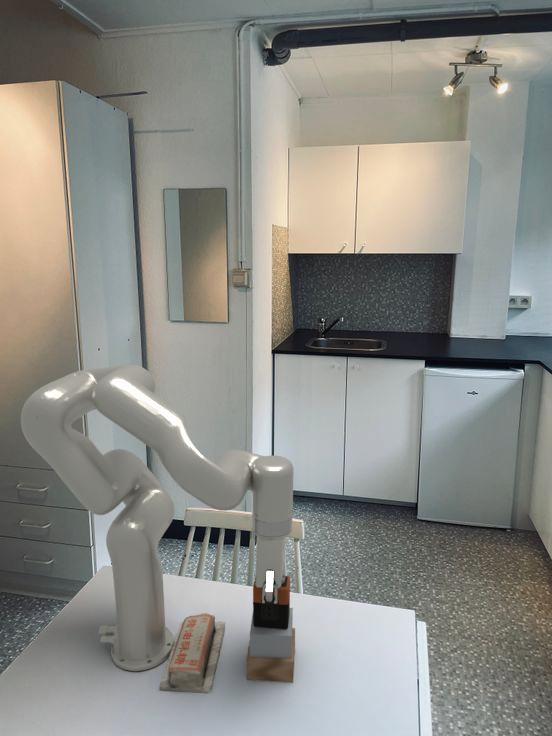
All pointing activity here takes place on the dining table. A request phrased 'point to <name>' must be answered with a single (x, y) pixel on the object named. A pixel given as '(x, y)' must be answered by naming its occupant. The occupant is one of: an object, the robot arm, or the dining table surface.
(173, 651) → the packaged product
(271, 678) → the bottom block
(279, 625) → the battery
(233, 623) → the dining table surface
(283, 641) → the top block
